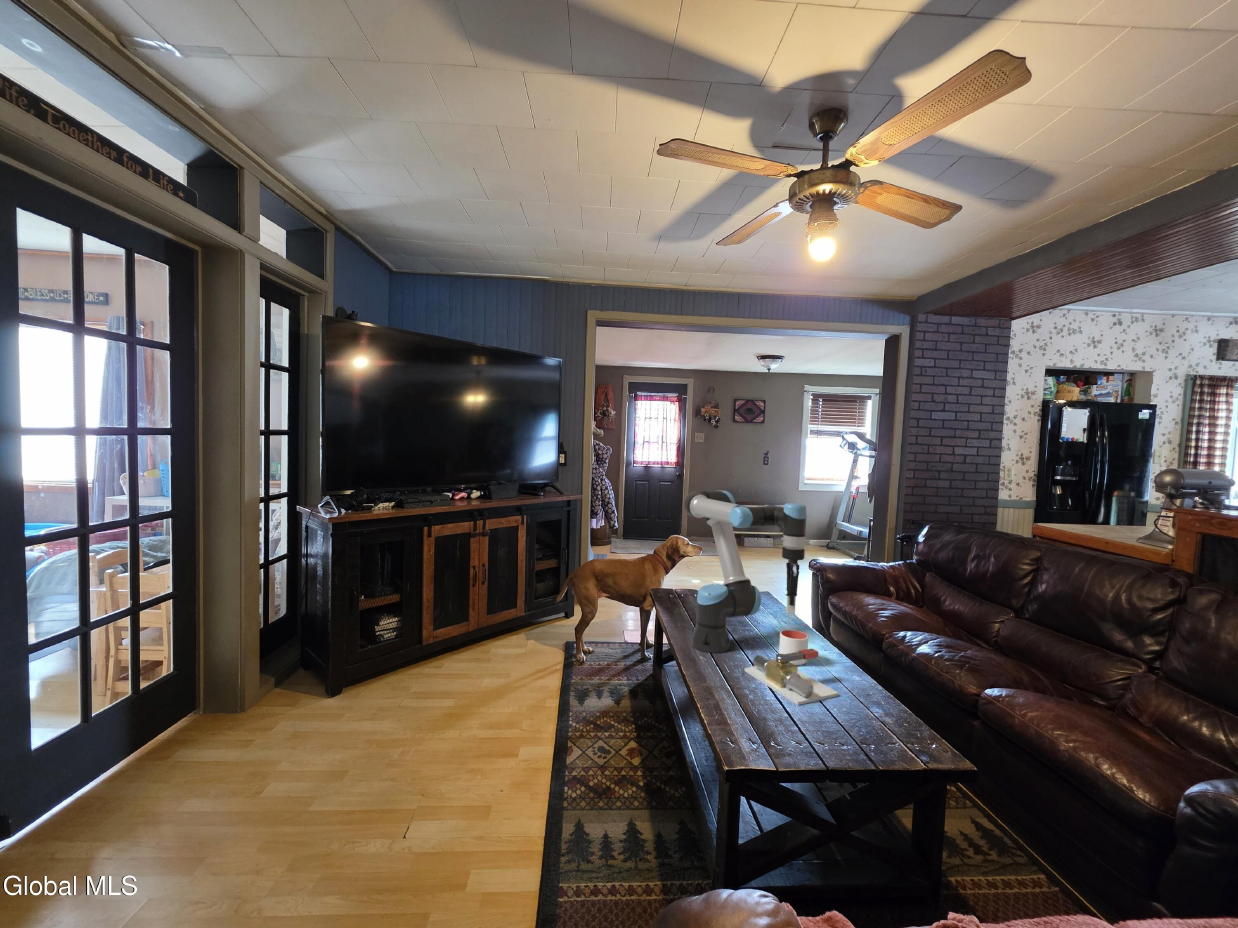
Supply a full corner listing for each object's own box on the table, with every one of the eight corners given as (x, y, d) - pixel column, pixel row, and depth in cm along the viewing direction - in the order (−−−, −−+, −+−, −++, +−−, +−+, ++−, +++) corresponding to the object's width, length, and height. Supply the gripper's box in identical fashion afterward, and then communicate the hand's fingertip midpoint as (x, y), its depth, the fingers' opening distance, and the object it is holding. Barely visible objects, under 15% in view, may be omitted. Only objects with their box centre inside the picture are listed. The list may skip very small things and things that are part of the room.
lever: (781, 664, 174) (782, 658, 174) (773, 660, 178) (773, 654, 178) (819, 657, 181) (819, 652, 181) (810, 653, 185) (810, 647, 185)
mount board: (744, 670, 187) (744, 668, 187) (782, 663, 194) (782, 661, 194) (797, 705, 164) (797, 701, 163) (838, 695, 171) (838, 692, 171)
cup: (808, 667, 192) (810, 640, 191) (780, 664, 194) (781, 637, 193) (804, 656, 202) (806, 631, 201) (777, 654, 204) (778, 628, 203)
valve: (749, 670, 187) (750, 650, 187) (765, 667, 190) (766, 647, 189) (799, 702, 165) (800, 678, 165) (816, 698, 168) (817, 675, 168)
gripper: (780, 543, 194) (777, 607, 195) (784, 550, 181) (781, 618, 182) (801, 544, 193) (798, 608, 194) (807, 551, 180) (804, 620, 181)
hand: (790, 613), depth 188 cm, fingers closed
